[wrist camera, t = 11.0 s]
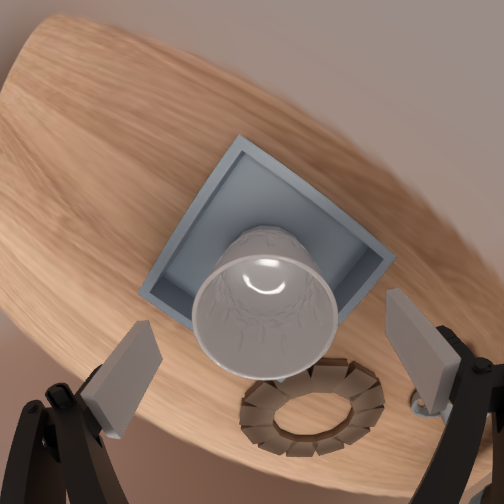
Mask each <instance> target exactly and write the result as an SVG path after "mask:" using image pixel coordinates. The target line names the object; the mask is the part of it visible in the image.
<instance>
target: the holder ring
mask: <svg viewBox="0 0 504 504" xmlns="http://www.w3.org/2000/svg"><path fill="white" fill-rule="evenodd" d="M312 392H316V393H336V394H338V395H340V396H342V397H344V398H346V399H348V400H350V402H351V404H352V408H351V411H350V413H349V415H348V417H347V419H346V420H345V421H343V422H342V423H341V424H339V425H338V426H337V427H335V428H334V429H333V430H330V431H326V432H323V433H320V434H317V435H294V434H291V433H289V432H286V431H284V430H282V429H280V428H279V427H278V425H277V424H276V423H275V421H274V420H273V419H274V415H275V411H277V410H278V409H279V408H280V407H281V406H283V405H284V404H285V403H286V402H287V401H289V400H290V399H293V398H296V397H299V396H303V395H306V394H309V393H312ZM384 403H385V400H384V395H383V391H382V387H381V384H380V382H379V379H378V378H376V376H375V374H374V373H372V372H371V371H369V370H367V369H366V368H364V367H362V366H360V365H359V364H357V363H355V362H354V361H353V362H352V363H351V364H350V365H349V366H348V363H347V360H346V359H319V360H318V361H317V362H316V363H315V364H314V365H312V366H311V368H310V371H309V369H306V370H304V371H302V372H300V373H298V374H296V375H293V376H290V377H287V378H286V379H285V380H284V381H283V382H279V381H277V380H258V381H257V382H256V383H255V384H254V385H253V386H252V387H251V388H250V389H249V390H248V391H247V392H246V393H245V398H242V405H241V414H240V423H239V425H241V430H242V431H243V433H244V434H245V435H246V436H247V437H248V439H249V440H250V441H251V442H252V443H253V444H257V443H258V448H261V449H264V450H266V451H269V452H272V453H274V454H277V455H281V454H283V453H285V452H286V457H312V456H313V454H314V452H315V450H316V452H317V453H318V455H319V456H320V455H324V454H327V453H331V452H334V451H337V450H340V449H343V448H344V444H343V443H345V444H348V445H351V444H353V443H354V442H356V441H357V440H359V439H360V438H361V437H363V436H364V435H366V434H367V433H368V432H370V428H369V427H374V426H375V425H376V423H377V421H378V419H379V417H380V416H381V414H382V412H383V410H384V406H383V404H384Z"/></svg>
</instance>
